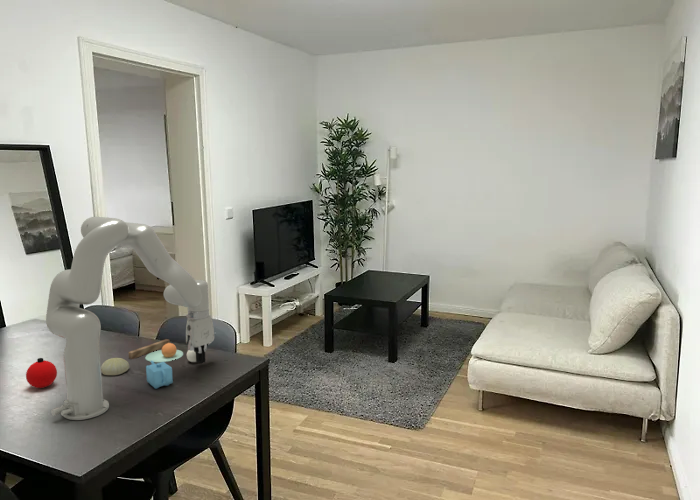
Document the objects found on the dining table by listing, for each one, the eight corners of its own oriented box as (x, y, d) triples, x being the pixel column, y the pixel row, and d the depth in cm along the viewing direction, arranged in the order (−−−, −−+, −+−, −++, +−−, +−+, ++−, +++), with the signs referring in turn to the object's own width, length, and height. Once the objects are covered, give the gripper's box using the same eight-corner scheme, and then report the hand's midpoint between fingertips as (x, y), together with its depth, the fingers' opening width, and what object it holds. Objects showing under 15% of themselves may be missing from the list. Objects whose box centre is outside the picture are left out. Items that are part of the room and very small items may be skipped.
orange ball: (160, 342, 202) (156, 353, 205) (169, 351, 200) (165, 362, 202) (172, 338, 207) (168, 348, 209) (181, 347, 205) (177, 357, 207)
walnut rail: (132, 359, 203) (131, 353, 202) (128, 358, 204) (128, 352, 203) (169, 345, 218) (169, 339, 218) (166, 344, 219) (166, 339, 219)
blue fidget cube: (143, 380, 183) (142, 360, 182) (160, 376, 187) (159, 356, 186) (156, 392, 174) (155, 370, 173) (174, 387, 178) (173, 365, 177)
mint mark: (161, 364, 197) (161, 364, 197) (137, 357, 204) (137, 357, 204) (190, 353, 209) (190, 353, 209) (166, 347, 216) (166, 346, 216)
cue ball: (188, 343, 199) (182, 355, 200) (193, 353, 196) (187, 364, 197) (200, 344, 203) (194, 356, 204) (206, 354, 199) (200, 365, 201)
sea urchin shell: (120, 373, 185) (105, 356, 185) (107, 386, 187) (92, 370, 187) (136, 363, 194) (121, 347, 194) (123, 376, 196) (109, 361, 196)
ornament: (63, 384, 179) (61, 356, 177) (36, 394, 171) (33, 365, 170) (48, 379, 184) (45, 351, 182) (21, 388, 176) (18, 360, 174)
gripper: (190, 320, 185) (192, 370, 188) (221, 310, 198) (222, 357, 200) (175, 317, 189) (177, 366, 192) (206, 308, 201) (208, 354, 204)
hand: (200, 361), depth 196 cm, fingers closed
